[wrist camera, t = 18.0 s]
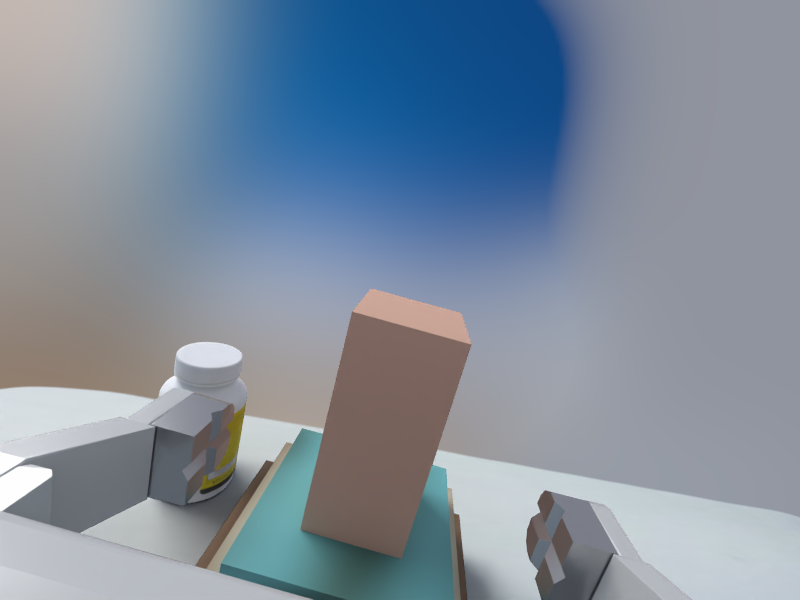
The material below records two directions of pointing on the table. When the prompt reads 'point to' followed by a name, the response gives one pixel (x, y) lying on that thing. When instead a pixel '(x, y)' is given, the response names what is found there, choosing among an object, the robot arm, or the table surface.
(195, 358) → the supplement bottle
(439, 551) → the block tower
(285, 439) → the table surface
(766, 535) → the table surface
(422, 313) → the capstone brick
